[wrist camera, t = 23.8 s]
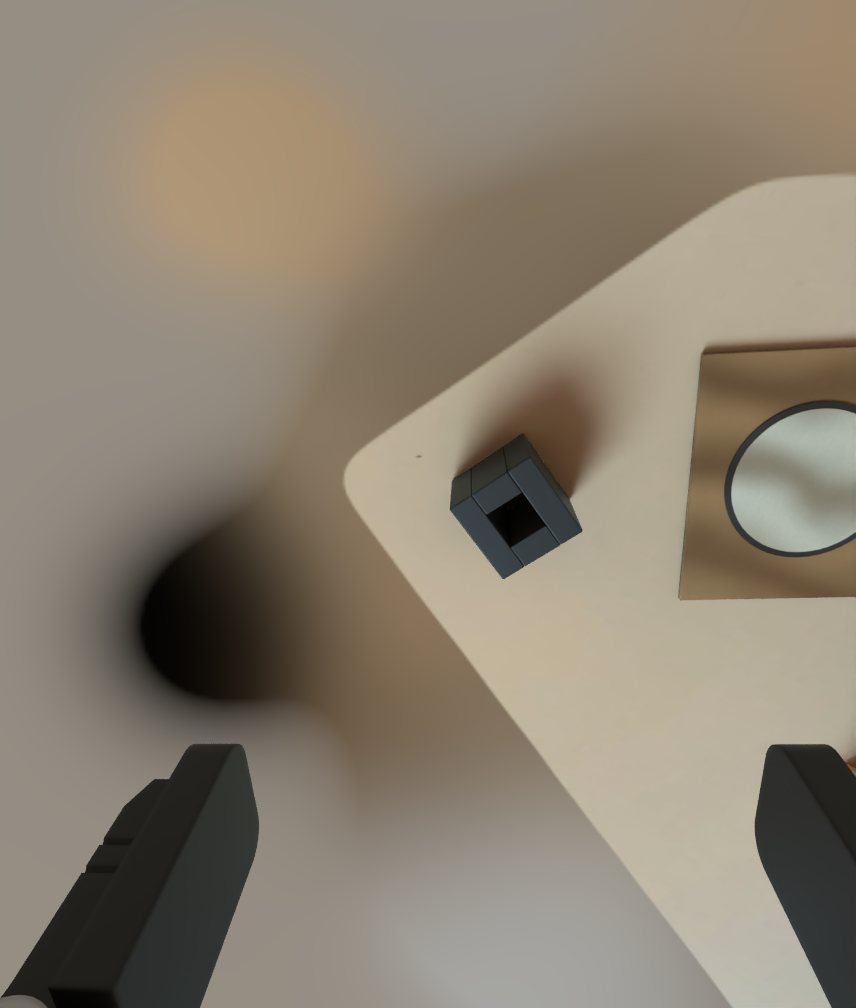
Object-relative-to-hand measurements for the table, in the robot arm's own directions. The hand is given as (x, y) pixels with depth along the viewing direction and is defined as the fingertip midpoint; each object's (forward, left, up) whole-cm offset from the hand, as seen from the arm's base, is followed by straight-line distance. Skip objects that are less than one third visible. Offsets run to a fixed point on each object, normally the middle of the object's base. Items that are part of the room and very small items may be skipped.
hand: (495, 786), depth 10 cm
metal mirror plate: (+6, +20, -30) cm, 37 cm away
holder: (+6, +2, -30) cm, 31 cm away
